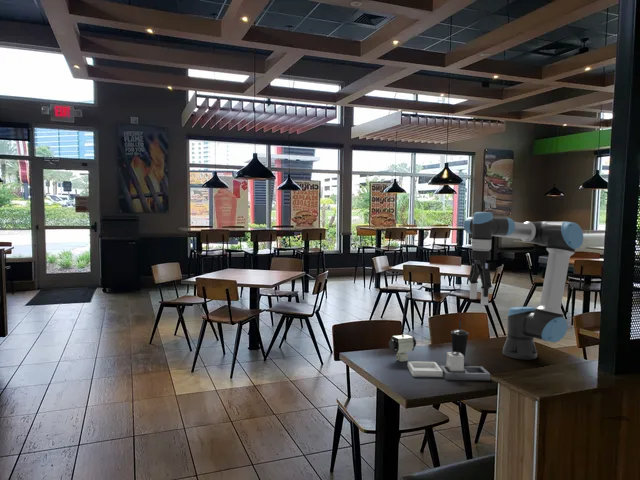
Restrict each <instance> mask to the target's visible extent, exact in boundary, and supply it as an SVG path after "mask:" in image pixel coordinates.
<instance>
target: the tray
mask: <svg viewBox="0 0 640 480" xmlns="http://www.w3.org/2000/svg"><path fill="white" fill-rule="evenodd" d="M407 368H408V370H409V372H410V375H411V376H412V377H415V378H416V377H420V378H444V377H443V371H442V369H441V368H440V365H438V363H437V362H436V361H408V360H407Z"/></svg>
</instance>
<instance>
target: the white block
mask: <svg viewBox="0 0 640 480" xmlns="http://www.w3.org/2000/svg"><path fill="white" fill-rule="evenodd" d="M445 366H446V370H447V371H448V372H458V373H464V366H465V360H464V356H463V355H462V354H461V353H460V352H452V351H446V363H445Z"/></svg>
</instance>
